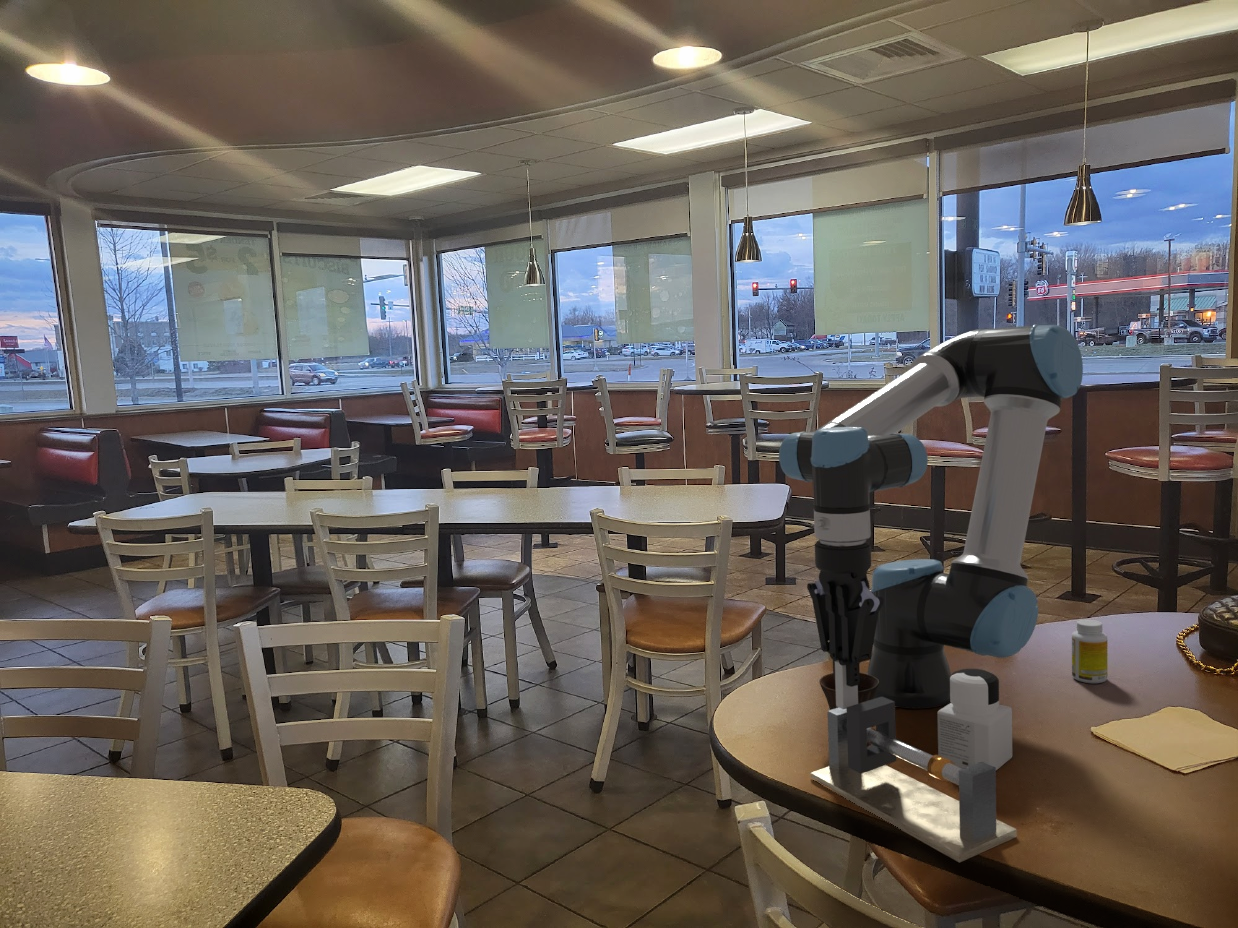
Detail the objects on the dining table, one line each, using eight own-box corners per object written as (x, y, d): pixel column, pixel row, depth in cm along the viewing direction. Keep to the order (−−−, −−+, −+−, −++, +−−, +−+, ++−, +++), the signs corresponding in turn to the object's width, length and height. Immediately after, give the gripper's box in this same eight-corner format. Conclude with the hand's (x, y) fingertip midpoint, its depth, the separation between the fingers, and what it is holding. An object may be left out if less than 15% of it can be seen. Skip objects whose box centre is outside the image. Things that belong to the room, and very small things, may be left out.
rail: (810, 779, 129) (808, 714, 128) (863, 760, 134) (861, 698, 133) (959, 862, 107) (958, 784, 106) (1016, 836, 111) (1016, 762, 110)
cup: (813, 746, 138) (815, 680, 138) (822, 730, 147) (824, 668, 147) (874, 754, 135) (876, 686, 135) (879, 737, 144) (881, 674, 144)
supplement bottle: (1114, 682, 158) (1115, 624, 157) (1087, 686, 157) (1087, 628, 156) (1091, 671, 164) (1091, 616, 163) (1064, 675, 163) (1064, 620, 162)
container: (961, 743, 138) (960, 660, 136) (1013, 757, 132) (1012, 671, 131) (937, 761, 133) (935, 675, 131) (990, 776, 127) (989, 686, 126)
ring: (848, 767, 125) (846, 707, 124) (883, 754, 128) (881, 696, 127) (860, 773, 123) (859, 712, 122) (896, 761, 126) (894, 701, 125)
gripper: (790, 537, 130) (796, 697, 132) (855, 551, 118) (859, 726, 121) (831, 530, 133) (835, 686, 136) (897, 543, 122) (901, 713, 124)
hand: (847, 705), depth 128 cm, fingers closed
